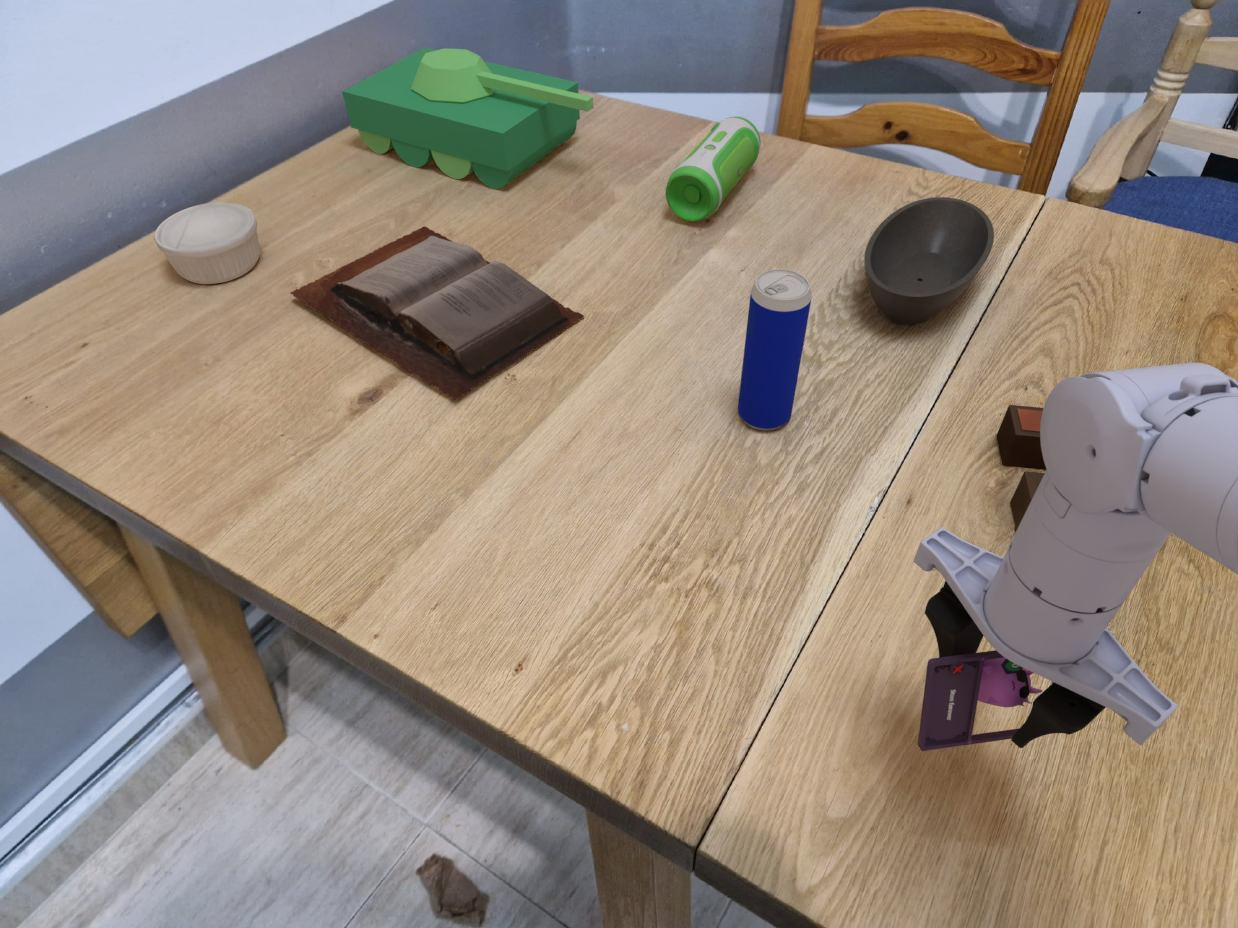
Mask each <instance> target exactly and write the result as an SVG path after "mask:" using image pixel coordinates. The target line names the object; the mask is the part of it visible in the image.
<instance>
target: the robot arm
mask: <svg viewBox="0 0 1238 928" xmlns="http://www.w3.org/2000/svg"><path fill="white" fill-rule="evenodd" d="M1042 408H1043V412H1042V417H1041V425H1040V441H1041V450H1042V455H1043V459H1044V463H1045V466H1046V469H1047V470H1045V472H1044V473H1045V474H1044V476H1043V478H1042V480H1041V482H1040V484H1039V486H1038V488H1037V490H1036V492H1035V494H1034V496H1033V498H1032V500H1031V502H1030V504H1029V506H1028V509H1027V511H1026V513H1025V515H1024V517H1023V519H1022V521H1021V523H1020V525H1019V527H1018V529H1017V531H1016V530H1015V533H1014V535H1013V537H1012V539H1011V542H1010V543H1009V545H1008V548H1007V550H1006V552H1005V554H1004V556H1000V555H999V554H997V553H994V552H992V551H990V550H987V549H985V548H983V547H980V546H978V545H976V544H973V543H971V542H969V541H966V540H965V539H963V538H961V537H959V536H957V534H955V533H953V532H951V531H949V530H948V529H947V528H945V526H940V527H939V528H938V529H936V530H935V531H934V532H932V533H931V534H929V535H928V536H926V537H925V538H924V539H922V540H921V541H920V543H919V545H918V548H917V551H916V554H915V556H914V558H913V563H914V564H915V565H917V566H918V567H919V568H920V569H921V570H923V571H924V572H932V571H933V570H934V569H935V570H936V571H938V572H939V573H940V575H941V577H943V579H944V580H945V581H944V584H943V585H942V586H941V588H940V590H939V591H938V592H937V593H935V594H934V595H933V596H931V597H930V598H929V599H928V600H927V603H926V606H925V610H924V615H925V616H926V618H927V619H928V621H929V623H930V625H931V627H932V629H933V633H934V635H935V638H936V643H937V650H938V658H940V657H947V656H955V655H963V654H971V653H978V652H977V651H978V650H979V647H980V645H981V643H982V640H983V638H985V640H986V642H988V643H989V644H990V646H991V647H992V648H993V649H994V650H996V651H997V652H999V653H1000V654H1001V655H1002V656H1003V657H1005V658H1006V659H1008V660H1009V661H1011V662H1013V663H1015V664H1017V665H1018V666H1021V667H1023V668H1025V669H1027V670H1029V671H1031V672H1033V674H1036V675H1037V676H1040V677H1041V678H1044V679H1046V680H1048V681H1050V682H1051V684H1050V685H1049V686H1048V687H1046V689H1044V690H1043V691H1042V692H1041V693H1039V695H1038V696H1037V697H1036V698H1034V700H1033V701H1032V706H1031V710H1030V712H1029V714H1028V716H1027V718H1026V720H1025V722H1024V723H1022V725H1021V726H1020V727H1019V730H1018V731H1017V732H1016V733H1015V734H1014V735H1013V737H1012V739H1010V741H1011V742H1012V743H1013V744H1014V745H1016V747H1017V748H1019V749H1023V748H1024V747H1026V746H1027V745H1028V744H1029V743H1030V742H1032V741H1034V740H1035V739H1039V738H1041V737H1043V736H1047V735H1053V734H1065V735H1072V734H1076V733H1077V732H1079V731H1081V730H1083V729H1085V728H1086V727H1087V726H1089V724H1090V723H1091V722H1093V720H1094V719H1095V718H1097V717H1098V716H1099V715H1100V714H1101V713H1102V712H1103V711H1104V710H1105V709H1106V708H1107V709H1108V710H1109V709H1110V710H1111V711H1113V712H1114V713H1116V714H1117V715H1118V716H1119V717H1120V718H1122V720H1124V721H1125V722H1126V723H1125V724H1124V725H1123V727H1122V730H1123V732H1124V733H1125V735H1127V736H1128V737H1129V738H1131V739H1132V740H1133V741H1134V742H1136V744H1138V745H1139V746H1142V745H1144V743H1146V742H1147V741H1148V739H1150V737H1151V736H1152V735H1153V734H1154V733H1156V732H1157V731H1158V730H1159V728H1161V726H1163V724H1164V723H1165V722H1166V721H1167V720H1168V719H1169V718H1170V717H1171V716H1172V714H1174V712H1175V711H1176V710H1177V709H1178V708H1179V704H1177V703H1176V702H1174V700H1172V699H1171V698H1169V697H1168V696H1167V695H1166V694H1165V693H1164V692H1163V691H1161V690H1160V689H1159V688H1158V686H1156V685H1155V683H1154V682H1152V680H1151V679H1150V678H1149V677H1148V676H1147V674H1146V673H1145V672H1144V671H1143V670H1142V669H1141V667H1140V666H1139V665H1138V663H1136V661H1135V659H1133V658H1132V656H1131V655H1130V653H1128V652H1127V650H1126V649H1125V647H1124V646H1123V645H1122V644H1121V643H1120V641H1118V639H1117V638H1116V637H1115V636H1114V634H1113V633H1112V632H1111V630H1110V629H1109V628H1108V626H1109V624H1110V623H1111V622H1112V620H1113V619H1114V617H1115V616H1116V615H1117V614H1118V612H1119V610H1120V609H1121V607H1122V606H1123V604H1124V603H1125V602H1126V600H1127V599H1128V597H1129V595H1130V594H1131V593H1132V591H1133V590H1134V588H1135V587H1136V585H1137V584H1138V582H1139V581H1140V579H1141V578H1142V577H1143V575H1144V574H1145V573H1146V571H1147V569H1148V568H1149V567H1150V565H1151V563H1152V562H1153V561H1154V559H1155V558H1156V557H1157V555H1158V553H1160V551H1161V549H1162V548H1163V546H1164V545H1165V544H1166V542H1167V540H1168V539H1169V537H1170V536H1171V535H1174V536H1175V537H1177V538H1179V539H1180V540H1181V541H1183V542H1185V543H1186V544H1188V545H1190V546H1191V547H1193V548H1194V549H1196V550H1198V551H1200V553H1203V554H1204V555H1205V556H1207V557H1209V558H1210V559H1213V560H1214V561H1215V562H1217V563H1218V564H1220V565H1222V566H1223V567H1225V568H1226V569H1228V570H1230V571H1231V572H1233V573H1235V574H1236V575H1238V381H1237V380H1235V379H1234V378H1232V377H1231V376H1229V375H1227V374H1226V373H1224V372H1223V371H1222V370H1220V369H1218V368H1217V367H1215V366H1213V365H1211V364H1207V363H1204V362H1196V361H1195V362H1194V361H1193V362H1183V363H1173V364H1163V365H1154V366H1146V367H1144V366H1143V367H1135V368H1134V367H1133V368H1124V369H1115V370H1107V371H1096V372H1087V373H1084V374H1081V375H1079V376H1077V375H1076V376H1069V377H1066V378H1064V379H1062V380H1061V381H1059V382H1058V383H1057V384H1056V385H1055V386H1054V387H1053V388H1052V390H1051V391H1050V393H1049V394H1048V396H1047V398H1046V401H1045V402H1044V406H1043V407H1042ZM1052 682H1054V683H1053V684H1052Z"/></svg>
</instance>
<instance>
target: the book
mask: <svg viewBox="0 0 1238 928" xmlns="http://www.w3.org/2000/svg"><path fill="white" fill-rule="evenodd" d="M483 256H484V255H482V253H481V252H480V251H478V250H477V249H475V248H474V247H472V246H471V245H468V244H464V243H460V242H455V241H453V240H451V239H449V238H447V236H444V235H442V234H441V233H439V232H435V231H434V230H433V229H431V228H429V227H428V226H422V227H420V228H418V229H415V230H413V231H412V232H411V233H409V234H405V235H403V236H402V237H399V238H396V239H395V240H393V241H391V242H389V243H387V244H384V245H383V246H382V247H378V248H376V249H374V250H372V251H371V252H369V253H367V254H365V255H363V256H361V257H359V258H357V259H356V258H355V260H353V261H350V262H349V263H347V264H344V265H343V266H341V267H339V268H337V269H335V270H334V271H331V272H330V273H328V274H324V275H323V276H322V277H320V278H318V279H315V280H314V281H310V282H308V283H307V284H306V285H305V284H304V285H302V286H301V287H299V289H298V288H296V289H295V290H293V291H290V292H289V293H290V295H292V296H293V297H294V298H296V299H298V300H299V301H301V302H303V304H306V306H308V307H309V308H311V309H313V310H315V311H316V312H317V313H320V314H322V316H323V317H325V318H326V319H329V320H331V321H332V322H333V323H335V324H336V325H337V326H339V327H340V328H343V329H344V330H346V331H347V332H348V333H350V334H351V335H353V336H354V337H355V338H358V340H361V341H362V342H364V343H365V344H367V345H368V346H369V347H371V348H373V349H374V350H376V351H377V352H379V353H381V354H382V355H385V356H386V357H387V358H389V359H390V360H392V362H394V363H396V365H398V366H401V367H402V368H404V369H406V370H407V371H408V372H410V373H413V374H414V375H415V376H417V377H418V378H419V379H420V380H421V381H423V382H424V383H427V384H428V385H429V386H431V387H435V388H436V389H438V391H440V392H442V393H443V394H444V395H447V396H448V397H449V398H452V399H453V401H457V400H460V398H462V397H463V396H466V395H467V394H468V392H471V391H472V389H474V388H477V387H478V386H480V384H483V383H485V382H487V381H488V380H490V377H492V378H493V376H494V375H495V374H498V373H500V372H501V371H503V370H505V369H506V368H507V367H509V366H511V365H514V364H515V363H516V362H518V361H519V360H520V359H522V358H523V357H526V356H527V355H528V354H529V353H532V352H533V351H534V350H536V349H537V348H539V347H541V346H543V345H544V344H545V343H546V342H548V341H549V340H551V339H553V338H555V337H556V336H557V335H559V334H560V333H562V332H563V331H565V330H567V329H569V327H571V326H573V325H574V324H575V323H578V322H579V321H580V320H581V319H584V317H585V316H584V315H583V314H582V313H580V312H577V311H574V310H572V309H571V308H570V307H565V306H564V305H563V304H562V303H560V302H559V301H558V300H556V299H554V298H552V297H551V295H549V294H548V293H547V292H544V291H543V290H542V289H540V288H539V287H538V286H536V284H533V283H532V282H531V281H530V280H528V279H526V278H525V277H524V276H523V275H521V274H520V273H519V272H517V271H515V270H514V269H512V268H511V266H508V265H507V264H506V263H503V262H499V261H497V260H495V259H494V260H493V261H491V262H490V261H487V260H486V259H485V258H484V257H483ZM439 342H440V343H442V344H444V345H445V346H446V347H447V348H448V350H449V351H448V352H446V353H443V352H442V351H441V350H440V349H438V348H437V347H438V343H439Z"/></svg>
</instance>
